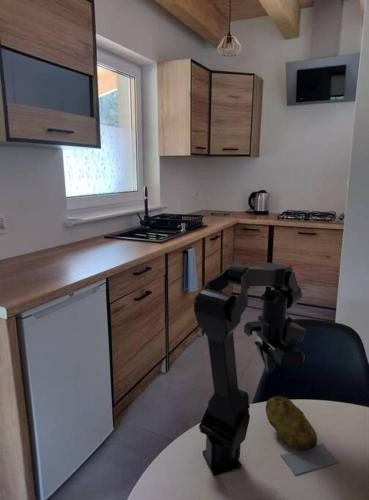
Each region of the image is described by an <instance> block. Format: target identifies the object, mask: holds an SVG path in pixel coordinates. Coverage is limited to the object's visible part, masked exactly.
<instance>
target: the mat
mask: <svg viewBox="0 0 369 500" xmlns="http://www.w3.org/2000/svg"><path fill="white" fill-rule="evenodd" d="M280 457H281V458H282V459H283V461H284V462H285V464H286V465H287V466H288V468H289V469H290V470H291V472H292V473H293V474H294V476H298V475H301V474H302V475H303V474H305V473H308V472H312V471H315V470H319V469H322V468H325V467H329V466H332V465H336V464H339V463H340V460H338V459H337V458H336V457H335V456H334V455H333V454H332V452H331V451H329V449H328V448H327V447H326V446H325V445H324V444H323V443H321V444H316V447H314V448H313V449H310V450H303V449H298V450H295V451H291V452H286V453H283V454H280Z"/></svg>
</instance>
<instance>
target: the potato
mask: <svg viewBox="0 0 369 500" xmlns="http://www.w3.org/2000/svg"><path fill="white" fill-rule="evenodd" d="M265 414H266V417H267V419H268V422H269V424H270V425H271V426H272V428H273V429H275V431H276V432H277V435H278V438H280V439H281V440H282V441H283V442H284V443H286V444H287V445H289V446H290V447H293V448H295V449H298V450H301V449H303V450H310V449H313V448H314V447H316V445H318V444H317V443H318V436H317V432H316V431H315V429H314V428H313V426H312V424H311V422H310V421H309V419H308V418H307V417H306V416H305V414H304V412H303V411H302V410H301V409H300V408H299V407H298V406H296V405H295V404H294V403H293V401H292V400H291V399H289V398H288V397H286V396H283V395H275V396H272V397H270V398H268V399H267V401H266V404H265Z"/></svg>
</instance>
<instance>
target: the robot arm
mask: <svg viewBox="0 0 369 500" xmlns="http://www.w3.org/2000/svg"><path fill="white" fill-rule="evenodd" d="M229 285H233V286H238V287H241V290H240V293H239V294H238V296H236V295H232V294H229V293H226V292H222V290H225V289H226V288H227V287H229ZM258 286H259V287H262V286H263V287H268V288H272V289H266V290H265V291H264V292H263V293H262V294H260V297H259V300H261V301H262V307H261V308H262V309H261V315H258V317H257V320H254V321H247V322H246V323H245V324H244V326H243V327H244V328H243V333H244V334H246V335H247V336H248V337H252V335H253V332H255V333H256V339H257V341H254V345H255V347H256V349H257V351H258V354H259V357H260V358H261V360H262V363H263V365H264V367H265V370H266V372H267V373H268V374H271V373H273V372H274V369H275V367H276V366H277V364H278V365H280V366H282V367H287V366H293V365H298V364H304V361H305V353H304V352H303V351H302V350H301V348H299V347H298V346H296V345H295V344H293V343H292V344H288V343H287V342H290V341H291V339H292V340H296V341H298V342H299V343H300V342H303V340H304V337H305V334H306V332H307V329H305V328H304V327H302V326H301V325H299V324H298V323H296V322H294V321H293V318H292V317H290V316H289V315H287V311H288V309H291V308H292V307H294V306H295V305H296V304H298V303H299V302H300V301H301V300H302V297H303V292H302V289H301V288H300V286H298V281H297V277H296V274H295V272H294V269H293V267H292V266H288V265H282V264H277V263H272V262H265V263H262V264H260V266H249V265H248V266H247V265H239V264H233V263H232V264H231V263H230V264H227V265H226V266H225V268H224V269H223V271H222V272H221V273H220V274H218V275H216V276H214V277H213V278H211V279H209V280H207V281H206V282H205V284H204V285H203V287H202V288H201V289H200V290H199V292H198V293H197V295H196V296H195V298H194V301H193V311H194V315H195V319H196V321H197V325H198V326H199V327H200V328H201V330H202V331H203V332H204V334H205V335H206V337H207V344H208V345H207V346H208V352H209V359H210V360H209V361H210V362H209V363H210V369H211V377H212V378H211V379H212V384H213V394H212V396H211V397H210V398H209V399H208V402H207V407H206V410H205V411H204V414H203V416H202V418H201V420H200V423H199V425H198V429H199V432H200V433H201V434H203V435H205V437H206V438H205V449H204V450H202V455H203V457H204V459H205V462H206V463H207V465H208V468H209V470H210V472H211V474H212V475H213V476H218V475H222V474H225V473H230V472H233V471H236V470H240V469H242V464H241V462H240V461H239V460H240V458H241V444H242V443H243V442H244V441H245V440H246V438H247V432H248V428H249V423H250V417H251V415H250V408H251V405H250V403H249V399H250V398H249V397H250V396H249V393H248V392H247V391H244V390H242V389H239V385H238V384H239V383H238V382H239V381H238V374H237V373H238V372H237V363H236V351H235V339H234V332H235V330H236V329H237V327H238V326H239V324H240V323H241V320H242V319H241V316H242V315H243V313H244V311H245V310H246V309H247V307H248V305H249V295H248V294H249V293H248V290H249V289H250V287H258Z"/></svg>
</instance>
